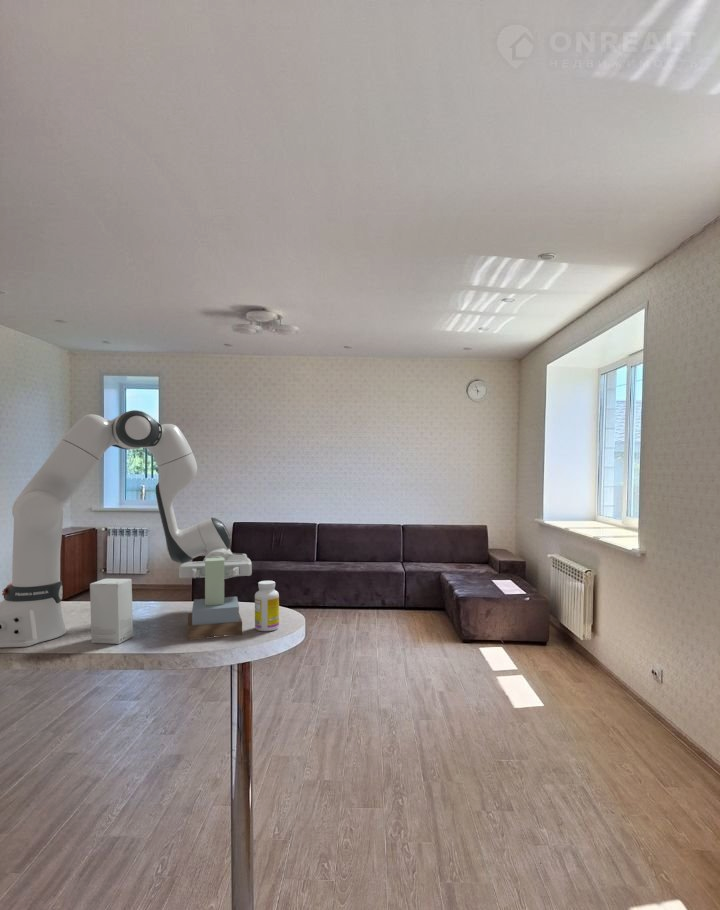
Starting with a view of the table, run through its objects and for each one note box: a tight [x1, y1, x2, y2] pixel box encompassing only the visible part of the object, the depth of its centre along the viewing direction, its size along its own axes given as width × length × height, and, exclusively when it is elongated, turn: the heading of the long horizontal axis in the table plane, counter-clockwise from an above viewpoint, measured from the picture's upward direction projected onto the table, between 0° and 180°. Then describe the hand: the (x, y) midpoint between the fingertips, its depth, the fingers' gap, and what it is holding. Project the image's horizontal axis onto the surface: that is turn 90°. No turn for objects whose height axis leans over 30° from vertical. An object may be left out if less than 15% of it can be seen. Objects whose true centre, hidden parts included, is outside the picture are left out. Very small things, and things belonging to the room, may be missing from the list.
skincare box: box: [89, 578, 134, 645], centre depth 140 cm, size 8×7×16 cm
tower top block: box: [191, 596, 240, 626], centre depth 148 cm, size 12×12×4 cm
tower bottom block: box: [187, 612, 243, 641], centre depth 148 cm, size 14×14×4 cm
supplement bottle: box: [254, 580, 280, 632], centre depth 149 cm, size 7×7×13 cm
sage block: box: [204, 558, 225, 606], centre depth 149 cm, size 5×5×12 cm
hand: (214, 574), depth 147 cm, fingers open, 8 cm apart
